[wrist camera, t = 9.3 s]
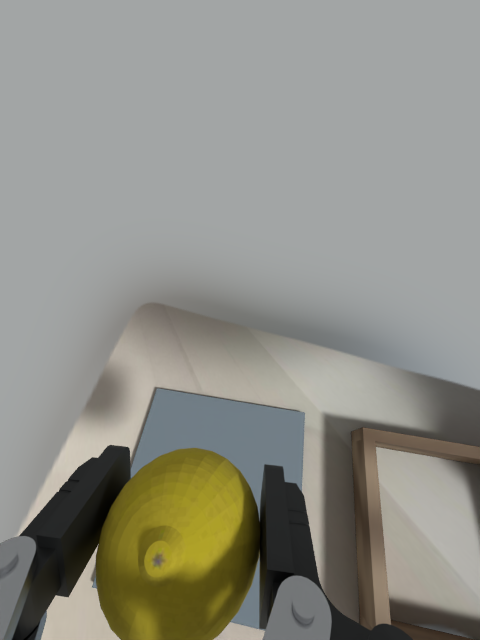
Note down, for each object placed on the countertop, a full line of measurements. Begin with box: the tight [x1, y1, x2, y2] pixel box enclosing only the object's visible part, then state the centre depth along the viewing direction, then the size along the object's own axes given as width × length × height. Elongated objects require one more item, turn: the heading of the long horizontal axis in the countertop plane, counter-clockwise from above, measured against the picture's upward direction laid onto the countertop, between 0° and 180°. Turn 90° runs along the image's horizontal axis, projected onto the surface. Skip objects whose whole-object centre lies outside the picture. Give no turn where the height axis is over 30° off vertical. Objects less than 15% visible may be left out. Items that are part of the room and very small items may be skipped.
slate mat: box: [92, 388, 305, 631], centre depth 24 cm, size 16×16×1 cm
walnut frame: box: [351, 427, 480, 640], centre depth 21 cm, size 14×14×3 cm
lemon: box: [96, 448, 260, 640], centre depth 10 cm, size 6×6×8 cm
